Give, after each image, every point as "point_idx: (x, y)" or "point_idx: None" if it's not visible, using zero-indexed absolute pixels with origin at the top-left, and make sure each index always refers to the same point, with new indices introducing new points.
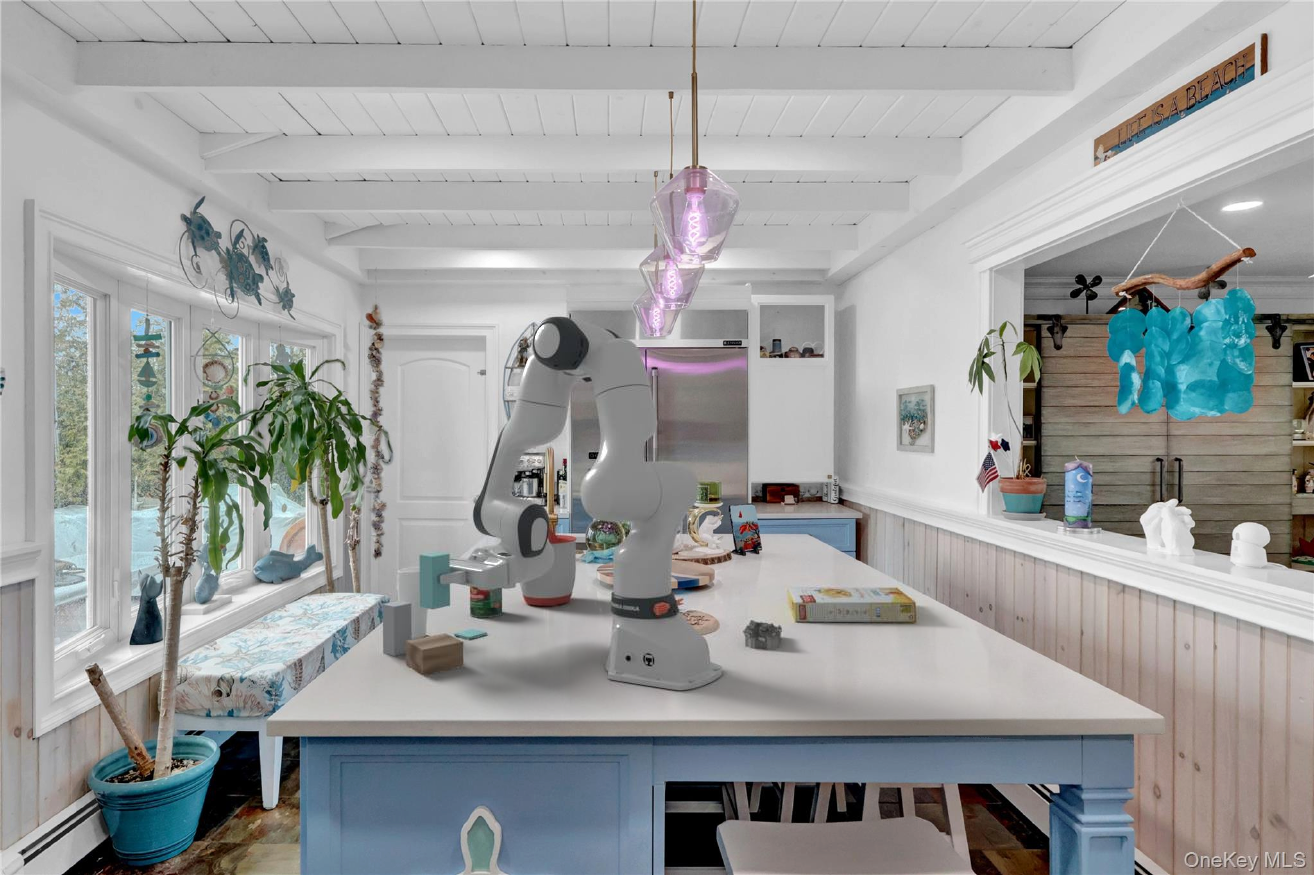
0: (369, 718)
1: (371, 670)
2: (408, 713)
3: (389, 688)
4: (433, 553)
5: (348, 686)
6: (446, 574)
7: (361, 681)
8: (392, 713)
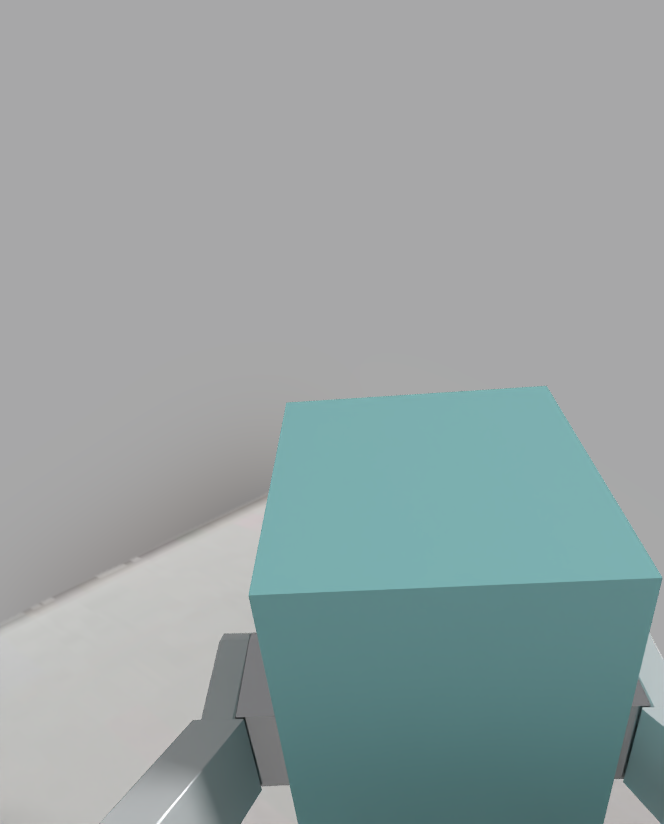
0: (166, 555)
1: None
2: (90, 618)
3: None
4: (521, 488)
5: None
6: (214, 678)
7: None
8: (134, 596)
